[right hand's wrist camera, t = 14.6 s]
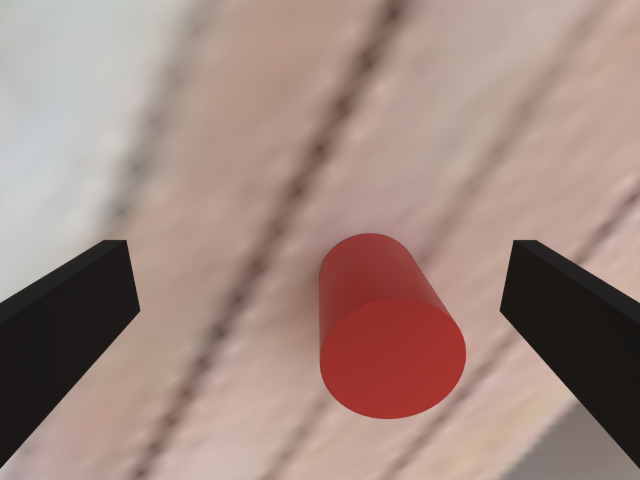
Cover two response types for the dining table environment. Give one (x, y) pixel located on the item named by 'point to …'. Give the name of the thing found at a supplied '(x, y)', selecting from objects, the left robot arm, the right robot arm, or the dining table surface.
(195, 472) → the dining table surface
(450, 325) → the can
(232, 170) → the dining table surface
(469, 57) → the dining table surface
